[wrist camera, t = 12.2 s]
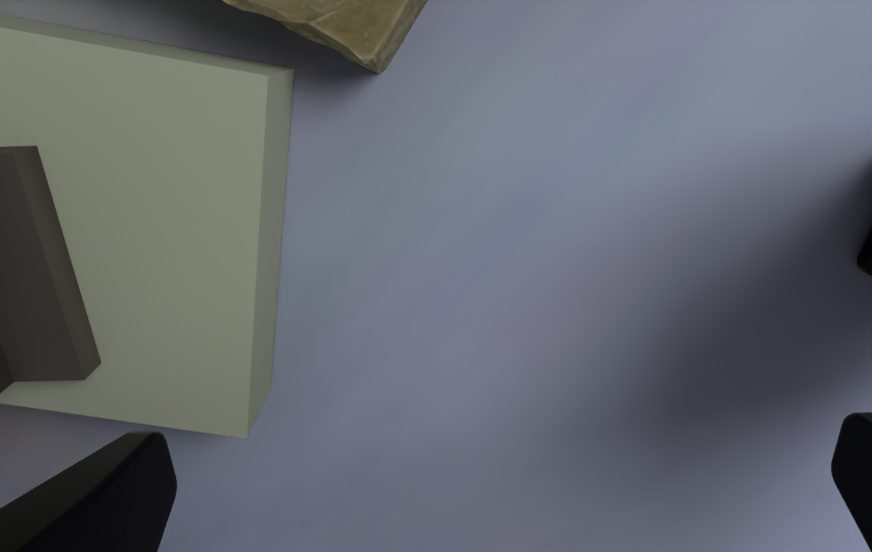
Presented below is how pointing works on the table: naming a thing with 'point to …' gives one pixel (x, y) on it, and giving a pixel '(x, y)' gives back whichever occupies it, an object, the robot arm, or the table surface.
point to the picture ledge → (157, 217)
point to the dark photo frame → (37, 282)
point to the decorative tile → (345, 24)
